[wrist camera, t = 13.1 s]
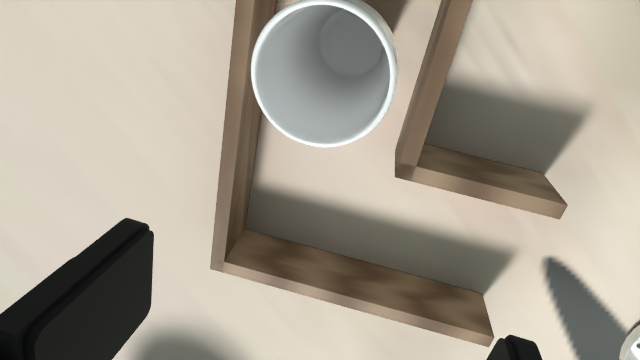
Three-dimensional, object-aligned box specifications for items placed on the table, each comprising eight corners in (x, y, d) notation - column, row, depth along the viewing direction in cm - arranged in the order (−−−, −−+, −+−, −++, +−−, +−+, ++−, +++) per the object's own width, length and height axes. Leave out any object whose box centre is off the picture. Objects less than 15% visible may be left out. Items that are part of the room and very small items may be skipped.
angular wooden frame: (636, -13, 27) (689, -13, 22) (477, 302, 40) (488, 347, 35) (272, -91, 29) (246, -108, 24) (232, 235, 41) (210, 268, 36)
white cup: (306, -4, 31) (236, 2, 17) (397, -12, 29) (398, -13, 16) (314, 86, 33) (259, 151, 20) (398, 82, 32) (398, 149, 19)
